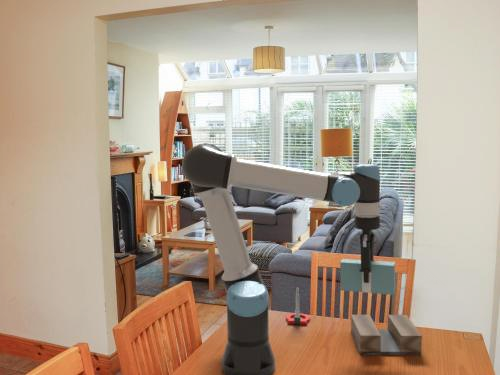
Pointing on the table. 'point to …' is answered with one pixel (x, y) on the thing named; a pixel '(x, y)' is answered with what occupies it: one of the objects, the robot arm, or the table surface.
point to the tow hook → (297, 314)
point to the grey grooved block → (386, 336)
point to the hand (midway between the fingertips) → (367, 289)
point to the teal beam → (379, 276)
